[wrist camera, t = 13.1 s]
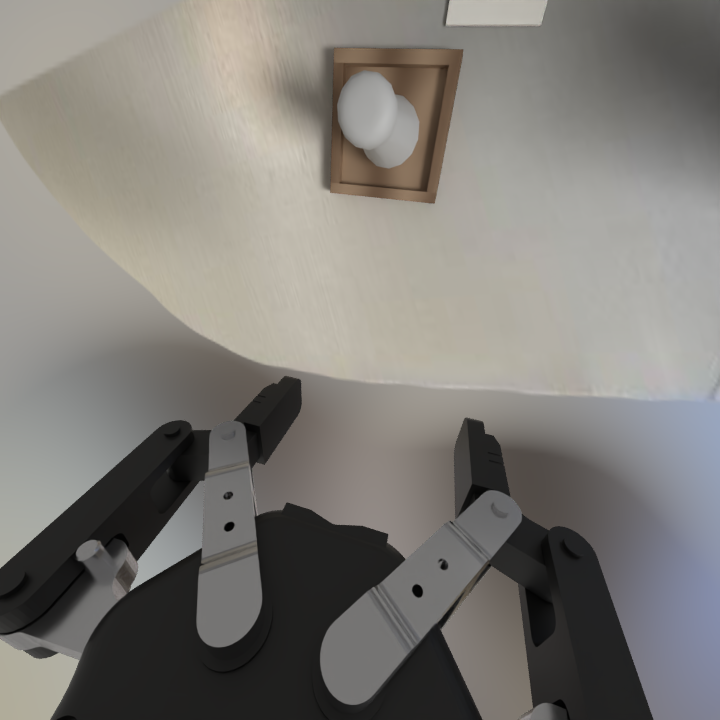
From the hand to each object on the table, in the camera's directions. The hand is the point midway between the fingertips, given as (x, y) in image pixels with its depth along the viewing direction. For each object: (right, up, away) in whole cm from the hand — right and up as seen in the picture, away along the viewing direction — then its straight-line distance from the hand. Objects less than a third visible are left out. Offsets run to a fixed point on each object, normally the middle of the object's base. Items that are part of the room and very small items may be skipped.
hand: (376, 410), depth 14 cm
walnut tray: (+3, +27, +17) cm, 32 cm away
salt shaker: (+3, +26, +17) cm, 31 cm away
